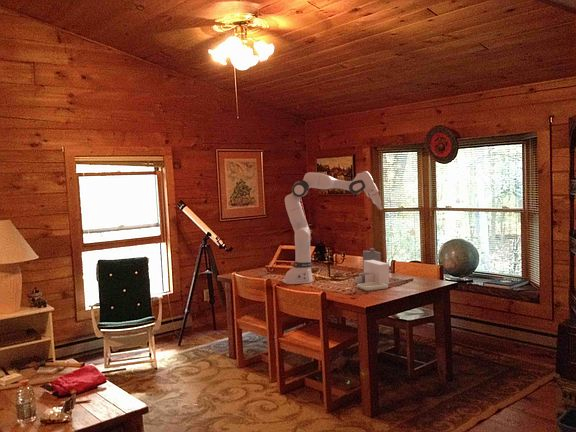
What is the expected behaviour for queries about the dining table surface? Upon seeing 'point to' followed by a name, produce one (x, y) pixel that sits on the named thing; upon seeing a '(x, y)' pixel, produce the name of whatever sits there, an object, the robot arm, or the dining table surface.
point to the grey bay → (376, 271)
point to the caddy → (361, 278)
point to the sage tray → (372, 286)
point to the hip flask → (371, 256)
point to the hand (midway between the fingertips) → (380, 209)
